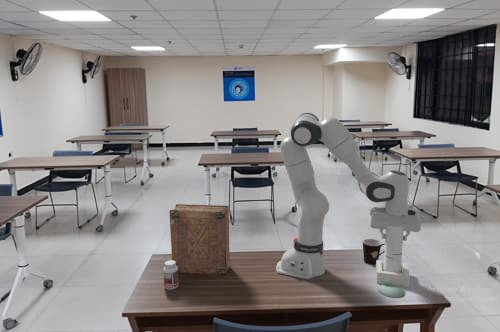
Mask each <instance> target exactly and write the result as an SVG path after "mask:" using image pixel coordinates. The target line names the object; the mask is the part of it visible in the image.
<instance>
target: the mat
mask: <svg viewBox="0 0 500 332" xmlns="http://www.w3.org/2000/svg"><path fill="white" fill-rule="evenodd" d="M378 292H379V293H380V294H381V295H383V296H385V297H387V298H388V297H389V298H401V297H404V295H405V290H404V289H403V288H402V286H396V285H392V284H380V285H379V286H378Z"/></svg>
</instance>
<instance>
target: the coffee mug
mask: <svg viewBox="0 0 500 332" xmlns="http://www.w3.org/2000/svg"><path fill="white" fill-rule="evenodd" d="M382 246H385V243H382V242H381V241H380V240H378V239H375V238H374V239H373V238H366V239H363V240H362V248H363V249H362V251H363V262H364V264H366V265H371V266H376V260H380V256H381V255H384V252H385V249H384V250H383V251H382V252H381V247H382Z"/></svg>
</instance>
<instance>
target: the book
mask: <svg viewBox="0 0 500 332" xmlns="http://www.w3.org/2000/svg"><path fill="white" fill-rule="evenodd" d="M229 216H230V209H229V205H217V204H215V205H214V204H213V205H212V204H185V203H184V204H182V203H176V204H175V207H174V208H173V209H169V226H170V244H171V245H170V246H171V249H170V250H171V260H174V261H175V262H176V266H177V267H178V274H194V273H198V275H199V274H200V275H217V276H218V275H219V276H226V275H227V272H228V270H229V268H230V261H231V257H230V217H229Z"/></svg>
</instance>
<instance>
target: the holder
mask: <svg viewBox="0 0 500 332" xmlns="http://www.w3.org/2000/svg"><path fill="white" fill-rule="evenodd" d="M408 266H409V265H408V263H407V262H402V261H401V273H396V272H386V271H383V269H384V260H383V259H382V260H380V259H378V260H376V265H375V276H376V277H375V279H376V280H375V281H376V284H378V285H379V284H380V285H383V284H392V285H396V286H399V287H405V288H409V287H410V281H411V279H410V277H411V275H410V271H409V268H408Z"/></svg>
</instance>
